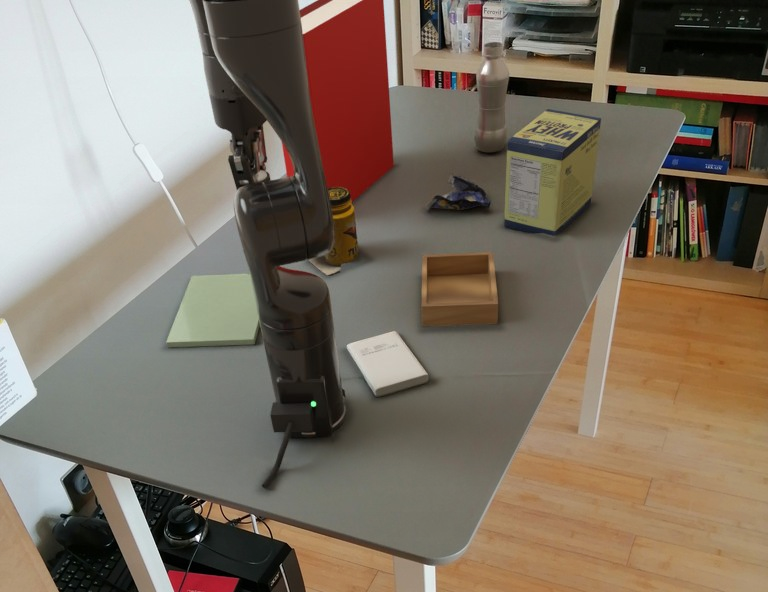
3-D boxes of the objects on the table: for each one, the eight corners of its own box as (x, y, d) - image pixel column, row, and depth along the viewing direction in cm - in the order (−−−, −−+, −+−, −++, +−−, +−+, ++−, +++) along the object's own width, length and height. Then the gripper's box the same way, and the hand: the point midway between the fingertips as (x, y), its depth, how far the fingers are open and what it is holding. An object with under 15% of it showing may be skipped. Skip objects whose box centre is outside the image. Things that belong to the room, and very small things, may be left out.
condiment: (368, 260, 143) (362, 193, 135) (327, 276, 140) (318, 209, 132) (346, 244, 148) (339, 179, 139) (306, 260, 145) (296, 194, 136)
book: (360, 160, 172) (344, -15, 149) (393, 166, 169) (382, -12, 146) (289, 218, 156) (258, 32, 133) (324, 225, 153) (299, 36, 130)
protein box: (592, 203, 152) (602, 116, 141) (555, 240, 143) (563, 151, 132) (541, 192, 156) (547, 107, 145) (502, 227, 148) (505, 140, 137)
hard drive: (375, 398, 116) (347, 352, 124) (428, 382, 118) (397, 338, 126) (375, 389, 115) (346, 343, 123) (428, 373, 117) (396, 329, 125)
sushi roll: (272, 215, 120) (266, 182, 117) (240, 216, 121) (233, 183, 117) (277, 200, 124) (271, 167, 120) (246, 201, 124) (239, 168, 120)
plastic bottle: (468, 148, 173) (469, 44, 158) (496, 141, 174) (499, 37, 160) (484, 159, 168) (486, 53, 154) (512, 151, 170) (517, 45, 156)
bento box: (497, 327, 126) (498, 303, 123) (422, 330, 127) (421, 306, 124) (492, 275, 137) (492, 251, 134) (423, 278, 138) (422, 254, 135)
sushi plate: (254, 344, 128) (253, 339, 127) (167, 347, 129) (165, 342, 128) (272, 277, 141) (271, 272, 141) (193, 280, 142) (191, 275, 142)
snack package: (436, 191, 160) (418, 217, 152) (441, 158, 155) (423, 184, 148) (495, 206, 158) (480, 233, 151) (501, 174, 154) (487, 200, 146)
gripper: (219, 67, 115) (242, 186, 127) (197, 107, 105) (224, 231, 117) (271, 65, 114) (289, 184, 126) (254, 104, 104) (276, 229, 117)
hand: (258, 206), depth 122 cm, fingers closed on sushi roll, 4 cm apart
